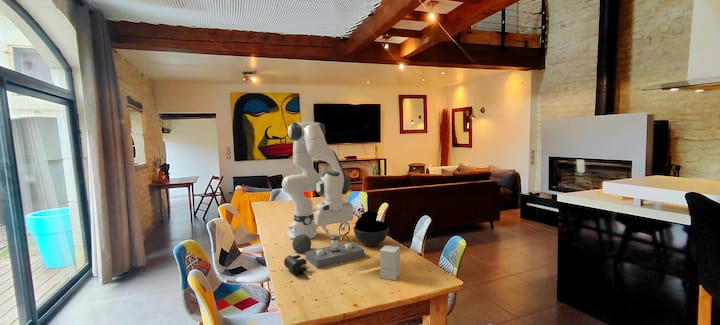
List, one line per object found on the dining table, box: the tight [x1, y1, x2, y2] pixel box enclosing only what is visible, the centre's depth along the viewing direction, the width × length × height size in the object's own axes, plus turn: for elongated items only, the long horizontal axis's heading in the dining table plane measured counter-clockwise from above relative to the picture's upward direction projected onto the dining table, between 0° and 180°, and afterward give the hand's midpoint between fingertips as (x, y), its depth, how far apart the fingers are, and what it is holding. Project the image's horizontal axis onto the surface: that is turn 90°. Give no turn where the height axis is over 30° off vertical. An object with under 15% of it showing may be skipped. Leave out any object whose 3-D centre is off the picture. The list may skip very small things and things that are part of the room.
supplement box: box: [379, 245, 401, 281], centre depth 145 cm, size 7×7×13 cm
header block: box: [304, 241, 365, 269], centre depth 165 cm, size 14×26×6 cm, turn 122°
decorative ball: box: [292, 234, 312, 254], centre depth 175 cm, size 10×10×10 cm
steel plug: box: [329, 235, 340, 253], centre depth 164 cm, size 4×4×11 cm
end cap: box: [283, 254, 308, 277], centre depth 151 cm, size 10×7×7 cm
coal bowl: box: [353, 210, 390, 247], centre depth 186 cm, size 20×20×19 cm
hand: (334, 231), depth 163 cm, fingers open, 8 cm apart
